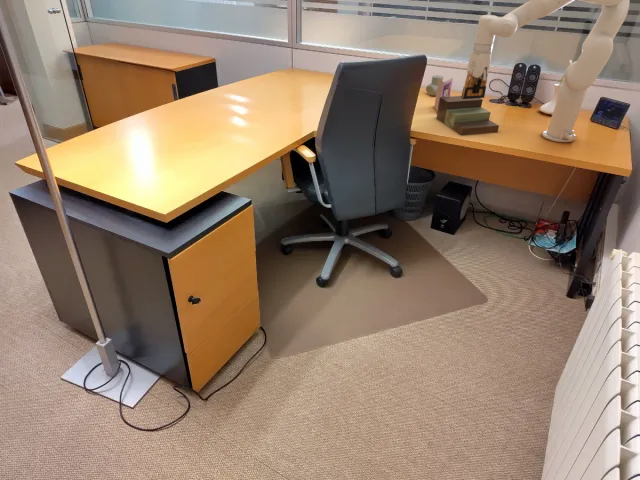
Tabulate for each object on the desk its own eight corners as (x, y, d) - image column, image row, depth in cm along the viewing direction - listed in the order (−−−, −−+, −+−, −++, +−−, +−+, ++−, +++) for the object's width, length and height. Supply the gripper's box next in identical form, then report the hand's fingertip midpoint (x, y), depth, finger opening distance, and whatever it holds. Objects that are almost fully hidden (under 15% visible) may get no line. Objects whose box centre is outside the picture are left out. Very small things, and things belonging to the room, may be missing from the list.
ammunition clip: (463, 99, 191) (468, 71, 184) (460, 98, 192) (466, 70, 186) (484, 97, 193) (490, 69, 186) (482, 96, 195) (488, 68, 188)
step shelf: (497, 132, 193) (503, 109, 187) (461, 135, 189) (466, 112, 184) (469, 115, 212) (473, 94, 207) (436, 117, 208) (439, 97, 203)
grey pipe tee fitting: (423, 93, 244) (425, 74, 239) (434, 91, 247) (437, 73, 242) (435, 98, 236) (438, 79, 231) (447, 96, 239) (450, 78, 234)
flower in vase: (556, 118, 209) (574, 64, 195) (534, 112, 217) (549, 60, 203) (569, 113, 216) (586, 60, 202) (547, 107, 223) (562, 56, 209)
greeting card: (440, 113, 214) (445, 82, 205) (426, 110, 218) (430, 80, 209) (449, 108, 221) (454, 78, 213) (436, 105, 225) (440, 75, 217)
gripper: (465, 45, 187) (457, 88, 197) (485, 52, 174) (475, 98, 184) (480, 44, 188) (471, 87, 199) (501, 51, 175) (491, 96, 186)
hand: (473, 92), depth 191 cm, fingers closed on ammunition clip, 2 cm apart
